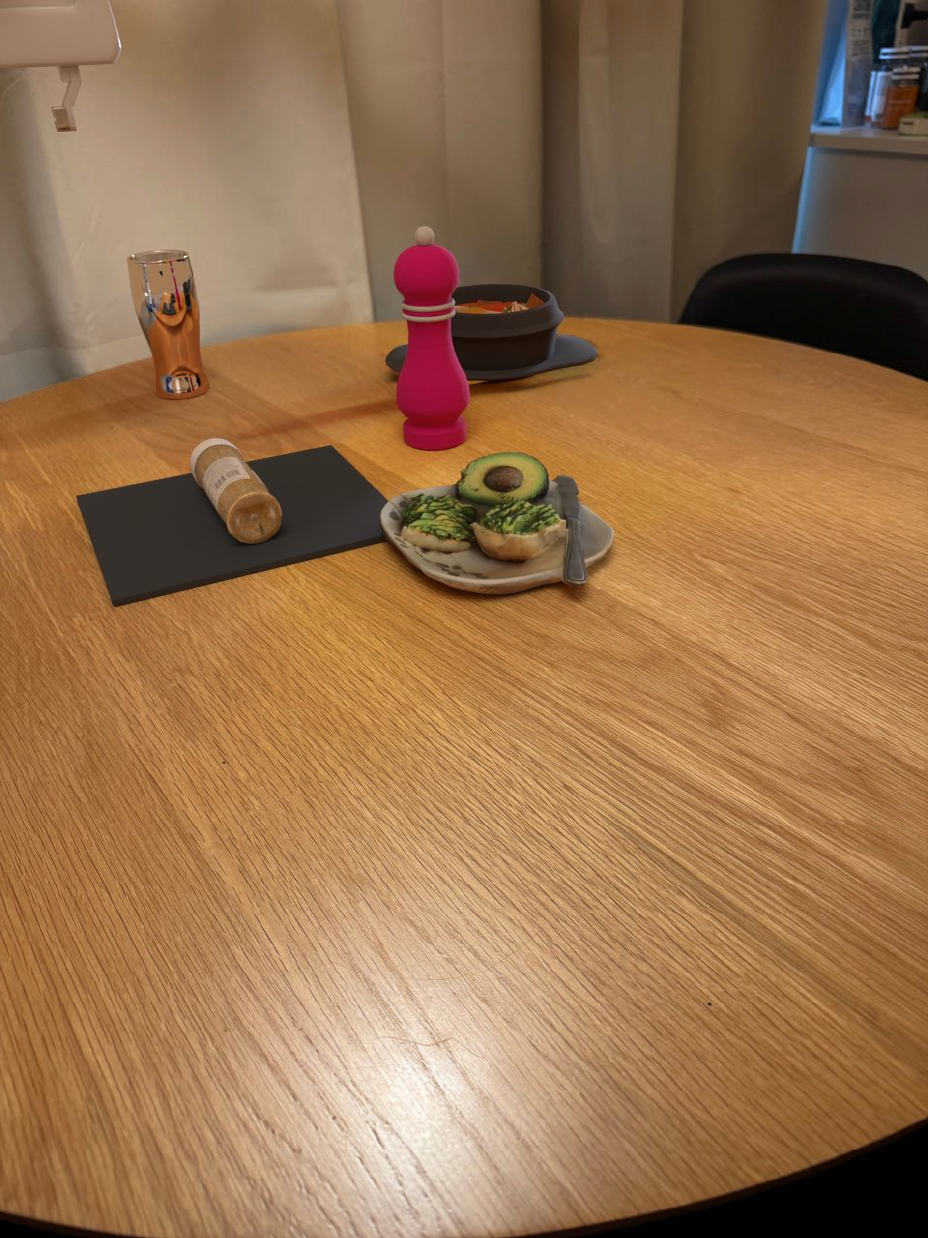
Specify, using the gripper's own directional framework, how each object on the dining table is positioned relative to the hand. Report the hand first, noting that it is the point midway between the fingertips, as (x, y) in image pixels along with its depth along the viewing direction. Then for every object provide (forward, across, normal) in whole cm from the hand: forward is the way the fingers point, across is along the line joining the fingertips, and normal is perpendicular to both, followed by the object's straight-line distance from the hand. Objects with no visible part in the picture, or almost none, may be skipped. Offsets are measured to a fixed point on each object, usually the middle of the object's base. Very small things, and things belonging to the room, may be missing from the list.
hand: (5, 135), depth 78 cm
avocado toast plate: (+28, -27, +33) cm, 51 cm away
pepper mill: (+29, -32, +10) cm, 44 cm away
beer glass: (+29, -13, -19) cm, 37 cm away
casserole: (+29, -47, -7) cm, 56 cm away
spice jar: (+26, -10, +25) cm, 38 cm away
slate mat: (+29, -10, +18) cm, 35 cm away
